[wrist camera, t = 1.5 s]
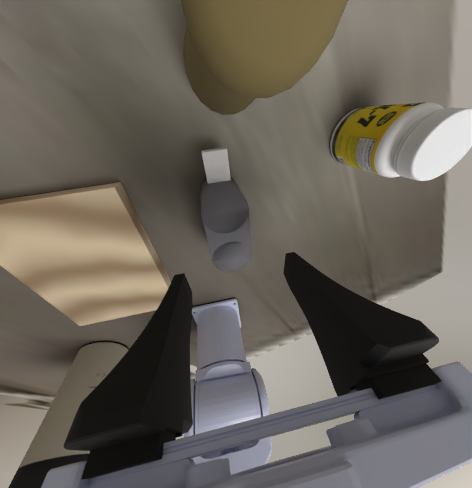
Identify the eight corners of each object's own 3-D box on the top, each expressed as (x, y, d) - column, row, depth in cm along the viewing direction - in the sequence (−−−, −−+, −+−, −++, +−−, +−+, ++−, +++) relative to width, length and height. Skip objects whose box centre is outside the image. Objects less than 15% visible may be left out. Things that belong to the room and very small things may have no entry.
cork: (228, 132, 15) (269, 151, 6) (166, 63, 12) (84, -78, 3) (281, 64, 13) (441, -40, 4) (221, -40, 10) (369, -1036, 1)
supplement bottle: (378, 97, 16) (511, 83, 9) (370, 152, 19) (467, 171, 12) (328, 119, 16) (420, 120, 9) (328, 169, 19) (398, 197, 12)
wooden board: (178, 297, 27) (177, 305, 26) (85, 316, 26) (80, 326, 25) (120, 182, 16) (114, 187, 15) (-46, 206, 15) (-67, 214, 14)
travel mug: (100, 363, 35) (32, 535, 20) (68, 348, 30) (-52, 560, 16) (138, 352, 35) (95, 516, 20) (111, 335, 30) (30, 536, 15)
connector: (242, 241, 23) (252, 267, 19) (212, 246, 22) (215, 274, 18) (233, 142, 16) (245, 151, 12) (190, 148, 15) (187, 159, 11)
